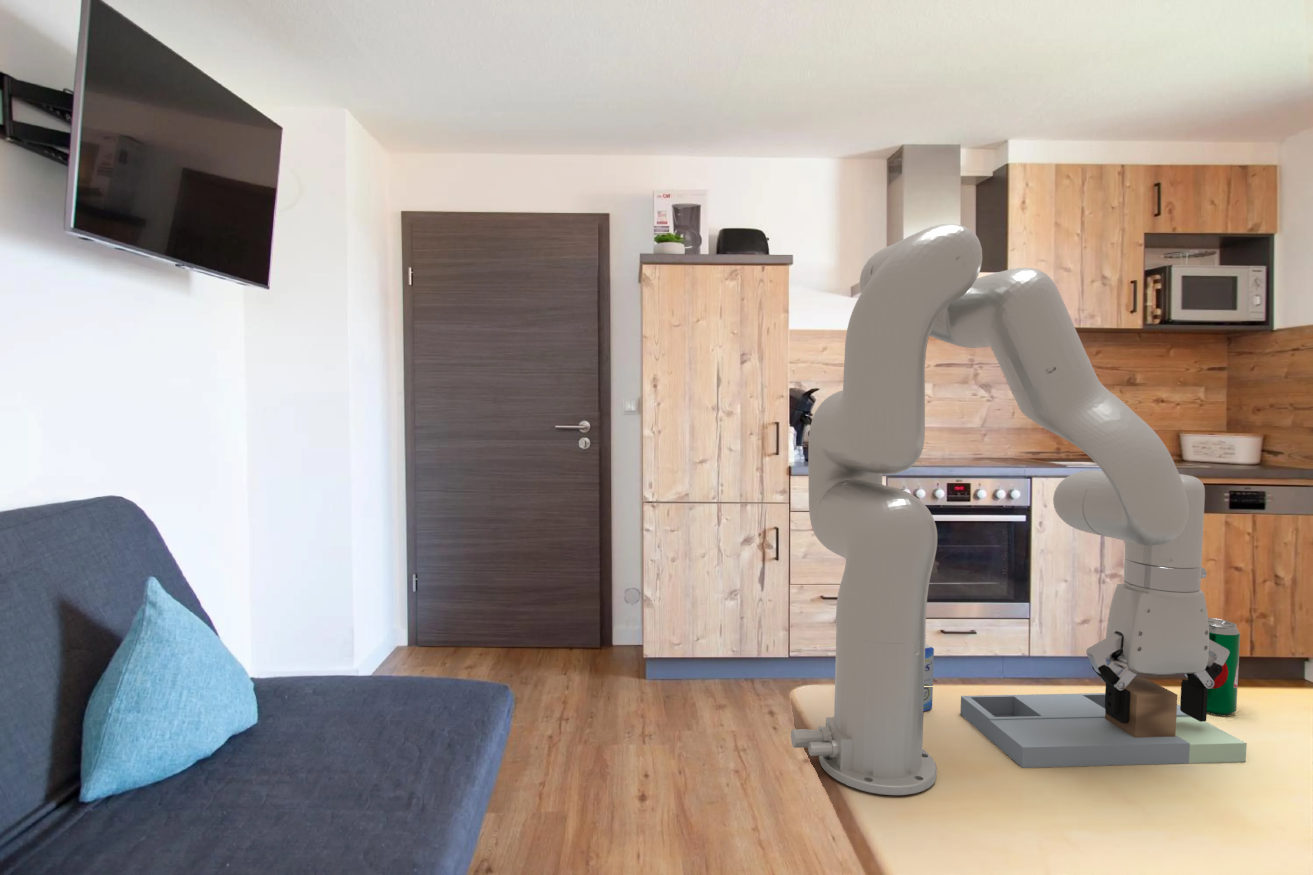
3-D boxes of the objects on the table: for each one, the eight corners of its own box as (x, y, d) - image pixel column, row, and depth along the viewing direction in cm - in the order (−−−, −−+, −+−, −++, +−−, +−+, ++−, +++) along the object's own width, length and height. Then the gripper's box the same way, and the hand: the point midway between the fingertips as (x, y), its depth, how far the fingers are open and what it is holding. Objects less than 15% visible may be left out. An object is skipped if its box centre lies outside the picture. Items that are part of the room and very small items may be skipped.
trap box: (1022, 767, 81) (1023, 745, 81) (960, 714, 95) (961, 695, 95) (1245, 761, 83) (1246, 740, 83) (1153, 710, 97) (1154, 691, 97)
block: (1135, 737, 84) (1137, 695, 84) (1105, 718, 89) (1106, 678, 89) (1175, 736, 84) (1177, 694, 84) (1143, 717, 89) (1145, 678, 89)
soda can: (1244, 718, 95) (1249, 629, 94) (1201, 715, 96) (1205, 626, 95) (1222, 703, 100) (1227, 617, 99) (1181, 699, 101) (1185, 615, 100)
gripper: (1203, 569, 90) (1196, 703, 91) (1071, 570, 89) (1066, 706, 90) (1257, 584, 83) (1250, 730, 84) (1115, 585, 81) (1108, 733, 82)
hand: (1155, 717), depth 87 cm, fingers open, 9 cm apart
